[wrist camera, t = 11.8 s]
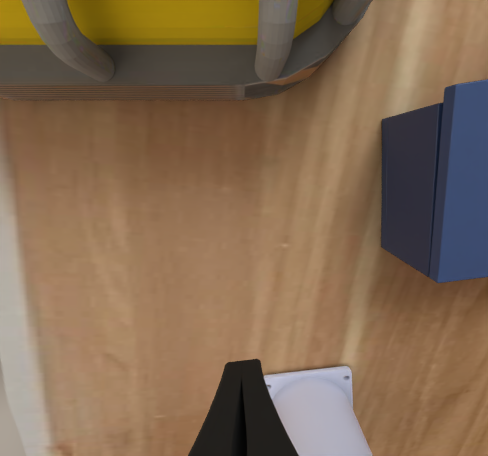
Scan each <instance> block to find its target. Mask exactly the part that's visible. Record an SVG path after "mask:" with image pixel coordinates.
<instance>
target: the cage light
mask: <svg viewBox="0 0 488 456" xmlns="http://www.w3.org/2000/svg"><path fill="white" fill-rule="evenodd" d="M371 2H372V0H0V98H4V99H10V100H248V99H253V98H259V97H265V96H270V95H276V94H279V93H281V92H283V91H285V90H286V89H288V88H290V87H292V86H294V85H295V84H297V83H299V82H301V81H303V80H304V79H306V78H308V77H310V76H311V75H312V74H313V72H314V71H315V70H316V69H317V68H318V67H319V66H320V65H321V64H322V63H323V62H324V61H325V60H326V59H327V58H328V57H329V56H330V55H331V54H332V52H333V51H334V50H335V49H336V48H337V47H338V46H339V45H340V44H341V42H342V41H343V40H344V39H345V38H346V36H347V35H348V34H349V33H350V32H351V31H352V29H353V28H354V27H355V26H356V25H357V24H358V22H359V21H360V20H361V19H362V18H363V16H364V14H365V12H366V10H367V8H368V7H369V5H370V3H371Z"/></svg>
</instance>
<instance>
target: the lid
mask: <svg viewBox="0 0 488 456" xmlns="http://www.w3.org/2000/svg"><path fill="white" fill-rule="evenodd" d="M429 277H430V278H431V279H432V280H434V281H435V282H437V283H443V282H451V281H459V280H467V279H475V278H483V277H488V80H481V81H474V82H468V83H461V84H455V85H452V86H449V87H446V88H445V90H444V102H443V115H442V127H441V139H440V151H439V164H438V176H437V188H436V200H435V213H434V225H433V237H432V249H431V262H430V274H429Z"/></svg>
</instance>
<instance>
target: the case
mask: <svg viewBox="0 0 488 456" xmlns="http://www.w3.org/2000/svg"><path fill="white" fill-rule="evenodd" d="M442 115H443V103H438V104H435V105H431V106H428V107H424V108H421V109H417V110H413V111H410V112H406V113H403V114H399V115H396V116H392V117H389V118H385V119H382V218H381V247H382V248H384V249H385V250H387V251H388V252H390V253H391V254H393V255H394V256H396V257H398V258H399V259H401V260H402V261H404V262H405V263H407V264H409V265H410V266H412V267H413V268H415V269H416V270H418V271H420V272H421V273H423V274H424V275H426V276H427V277H429V274H430V262H431V249H432V237H433V225H434V213H435V200H436V188H437V176H438V164H439V151H440V139H441V127H442Z"/></svg>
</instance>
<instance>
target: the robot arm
mask: <svg viewBox="0 0 488 456" xmlns="http://www.w3.org/2000/svg"><path fill="white" fill-rule="evenodd" d="M345 376H346V377H345ZM267 385H269V386H267ZM188 456H373V455H372V453H371V450H370V448H369V446H368V444H367V441H366V439H365V437H364V434H363V432H362V430H361V428H360V425H359V423H358V421H357V418H356V416H355V414H354V412H353V397H352V372H351V369H350V368H349V367H348V366H340V367H332V368H323V369H314V370H306V371H297V372H289V373H280V374H271V375H265V376H263V373H262V368H261V362H260V360H258V359H253V360H244V361H236V362H228V363H227V364H226V365H225V368H224V372H223V375H222V378H221V381H220V384H219V387H218V389H217V392H216V395H215V397H214V400H213V402H212V405H211V407H210V410H209V412H208V415H207V417H206V419H205V421H204V423H203V426H202V428H201V430H200V432H199V434H198V436H197V438H196V441H195V443H194V445H193V447H192V449H191V451H190V453H189V455H188Z"/></svg>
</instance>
